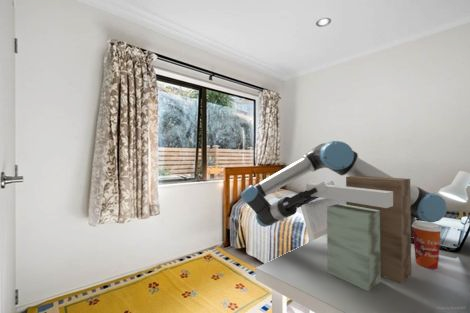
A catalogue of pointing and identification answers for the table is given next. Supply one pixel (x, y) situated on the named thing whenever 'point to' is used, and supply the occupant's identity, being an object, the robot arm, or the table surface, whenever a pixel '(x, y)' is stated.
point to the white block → (356, 195)
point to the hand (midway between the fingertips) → (329, 185)
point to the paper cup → (426, 243)
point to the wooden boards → (371, 235)
